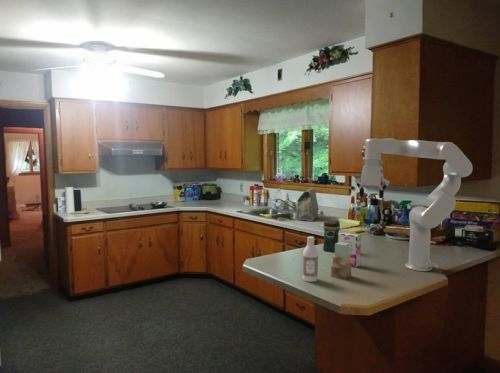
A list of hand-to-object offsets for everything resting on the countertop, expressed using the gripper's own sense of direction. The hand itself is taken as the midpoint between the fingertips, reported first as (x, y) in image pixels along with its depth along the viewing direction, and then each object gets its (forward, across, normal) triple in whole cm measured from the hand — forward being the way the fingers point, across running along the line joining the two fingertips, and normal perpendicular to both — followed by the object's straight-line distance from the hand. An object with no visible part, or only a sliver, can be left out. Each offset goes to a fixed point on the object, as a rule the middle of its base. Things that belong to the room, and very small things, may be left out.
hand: (371, 197), depth 186 cm
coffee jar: (+36, +30, -18) cm, 51 cm away
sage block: (+26, +5, +22) cm, 35 cm away
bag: (+37, +95, -103) cm, 145 cm away
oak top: (+32, +5, +23) cm, 39 cm away
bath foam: (+36, +14, +36) cm, 53 cm away
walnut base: (+36, +5, +22) cm, 43 cm away
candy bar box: (+36, +10, +2) cm, 38 cm away
